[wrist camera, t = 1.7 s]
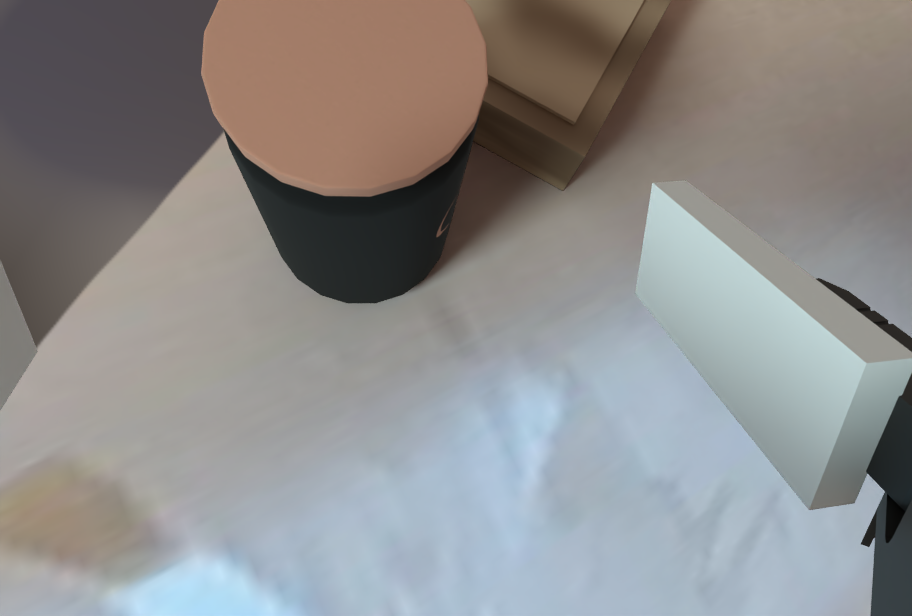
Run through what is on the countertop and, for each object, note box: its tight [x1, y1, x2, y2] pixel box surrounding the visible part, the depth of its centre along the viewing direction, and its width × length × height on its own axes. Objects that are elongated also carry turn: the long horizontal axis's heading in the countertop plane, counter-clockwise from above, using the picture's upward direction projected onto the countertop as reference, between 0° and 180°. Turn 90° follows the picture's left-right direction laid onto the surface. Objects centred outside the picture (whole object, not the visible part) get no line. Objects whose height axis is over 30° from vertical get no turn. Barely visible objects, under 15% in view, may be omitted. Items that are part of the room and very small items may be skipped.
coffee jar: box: [201, 0, 488, 303], centre depth 33 cm, size 11×11×18 cm
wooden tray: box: [465, 0, 671, 191], centre depth 44 cm, size 16×16×5 cm
